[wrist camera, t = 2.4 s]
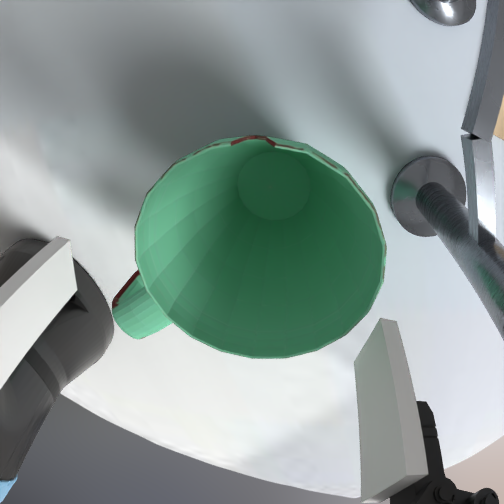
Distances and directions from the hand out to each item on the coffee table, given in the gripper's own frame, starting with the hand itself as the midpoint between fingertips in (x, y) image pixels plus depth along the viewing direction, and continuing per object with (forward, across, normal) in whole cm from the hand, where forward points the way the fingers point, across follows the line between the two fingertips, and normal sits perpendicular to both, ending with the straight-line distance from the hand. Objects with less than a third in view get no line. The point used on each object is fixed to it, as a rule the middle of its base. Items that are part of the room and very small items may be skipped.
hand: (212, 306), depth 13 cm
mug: (+11, 0, 0) cm, 11 cm away
